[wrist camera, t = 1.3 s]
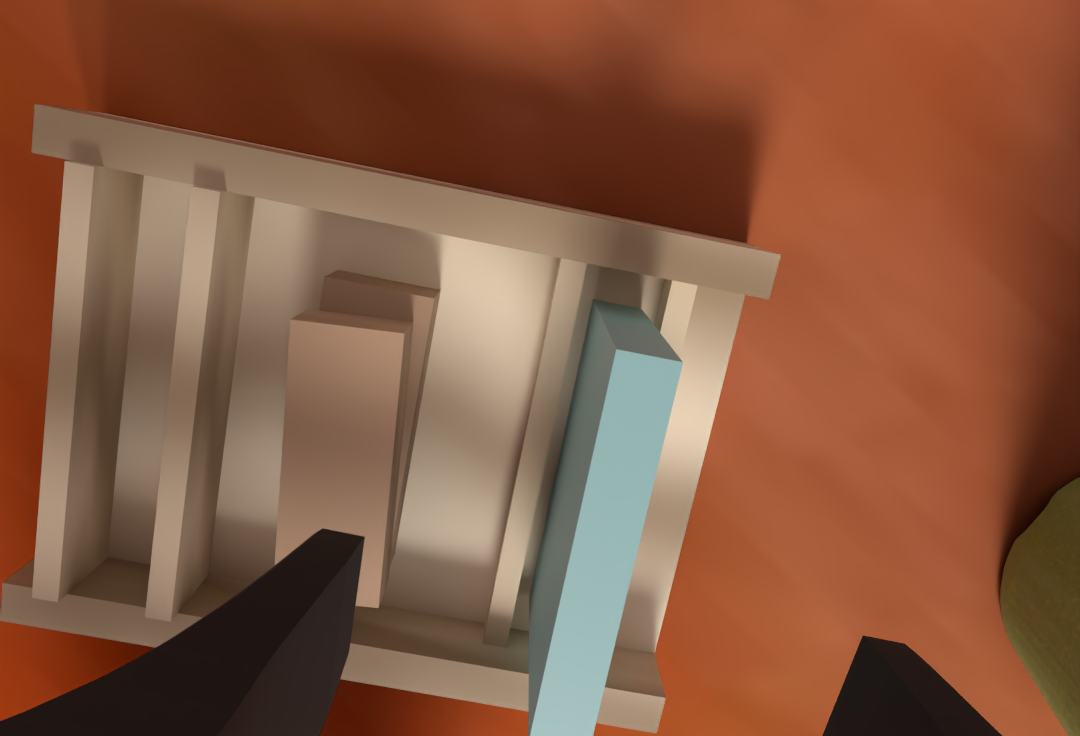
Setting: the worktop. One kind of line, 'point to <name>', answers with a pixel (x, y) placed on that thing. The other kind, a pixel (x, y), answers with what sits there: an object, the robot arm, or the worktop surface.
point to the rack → (260, 388)
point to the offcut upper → (344, 436)
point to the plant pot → (1048, 603)
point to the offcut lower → (421, 309)
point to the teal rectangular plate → (596, 515)
